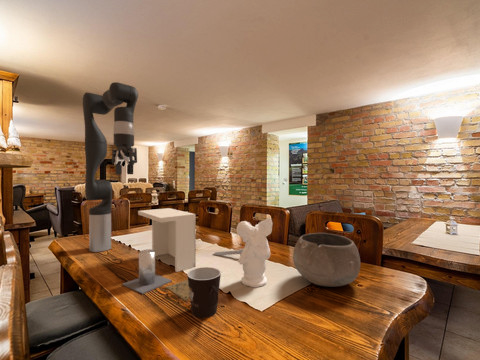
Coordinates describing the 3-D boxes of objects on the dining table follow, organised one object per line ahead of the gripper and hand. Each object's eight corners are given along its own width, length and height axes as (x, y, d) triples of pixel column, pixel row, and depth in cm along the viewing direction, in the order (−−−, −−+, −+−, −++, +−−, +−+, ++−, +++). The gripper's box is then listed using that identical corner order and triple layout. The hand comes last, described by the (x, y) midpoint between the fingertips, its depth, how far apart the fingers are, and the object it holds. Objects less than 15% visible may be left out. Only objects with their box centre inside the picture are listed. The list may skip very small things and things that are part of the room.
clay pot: (356, 274, 88) (356, 233, 88) (365, 303, 68) (365, 249, 68) (296, 267, 95) (296, 229, 95) (288, 291, 75) (288, 242, 75)
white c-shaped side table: (138, 258, 105) (138, 210, 105) (169, 252, 114) (169, 208, 114) (160, 276, 87) (160, 217, 86) (195, 266, 96) (195, 214, 95)
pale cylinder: (135, 282, 80) (135, 252, 79) (148, 277, 84) (148, 248, 84) (145, 286, 77) (145, 255, 77) (158, 280, 82) (158, 251, 81)
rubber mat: (122, 284, 79) (122, 283, 79) (151, 274, 88) (151, 272, 88) (142, 294, 73) (142, 292, 73) (171, 281, 82) (171, 280, 82)
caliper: (255, 260, 104) (255, 245, 104) (255, 261, 103) (255, 246, 103) (213, 254, 112) (213, 240, 112) (212, 255, 111) (212, 241, 111)
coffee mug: (189, 303, 68) (189, 267, 68) (220, 302, 69) (220, 266, 68) (183, 329, 56) (183, 286, 56) (221, 327, 57) (221, 284, 57)
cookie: (196, 277, 86) (196, 275, 86) (217, 289, 78) (217, 286, 78) (164, 288, 78) (164, 285, 78) (184, 302, 69) (184, 299, 69)
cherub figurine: (234, 284, 80) (233, 217, 80) (246, 271, 92) (245, 212, 91) (270, 290, 76) (269, 219, 76) (278, 275, 87) (277, 213, 87)
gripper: (142, 133, 98) (143, 174, 98) (123, 137, 106) (123, 174, 106) (124, 130, 92) (125, 174, 92) (105, 134, 100) (105, 174, 100)
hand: (124, 174), depth 99 cm, fingers open, 8 cm apart
